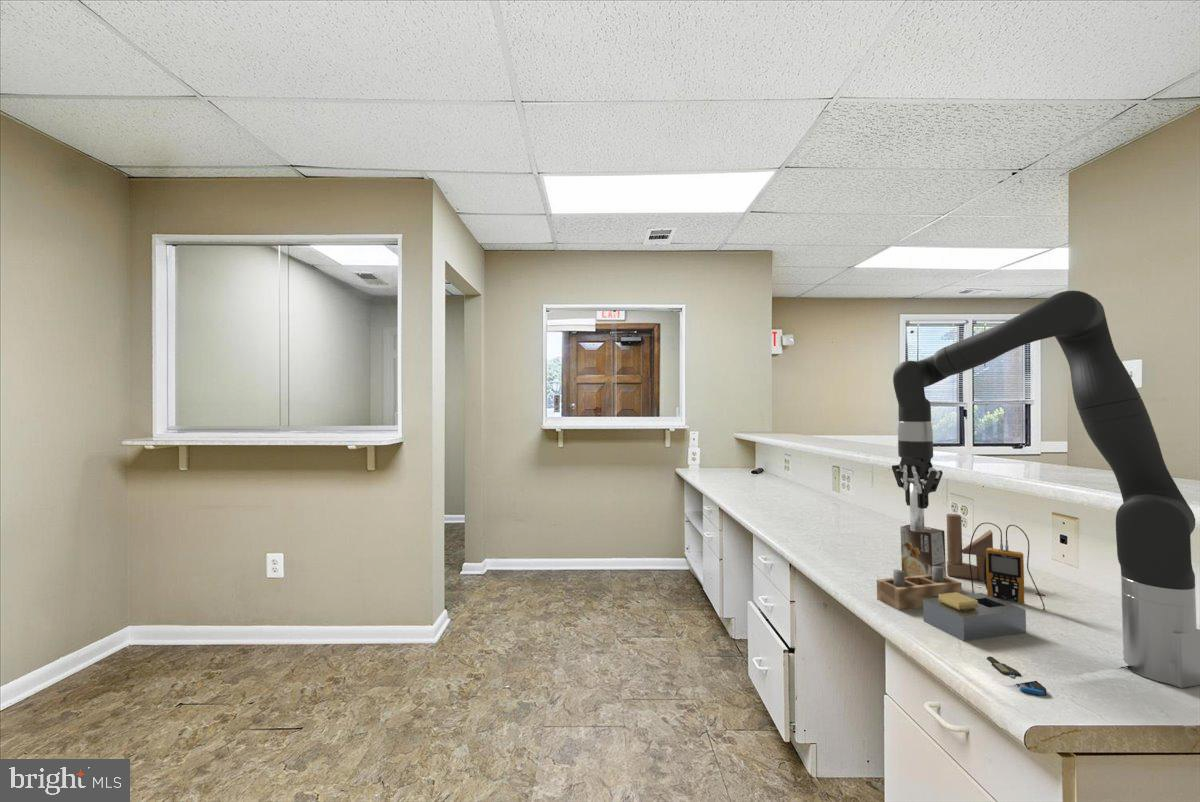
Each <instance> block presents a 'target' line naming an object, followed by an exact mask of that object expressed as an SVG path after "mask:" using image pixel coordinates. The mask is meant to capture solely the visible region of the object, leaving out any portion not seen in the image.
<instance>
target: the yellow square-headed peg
mask: <svg viewBox="0 0 1200 802" xmlns="http://www.w3.org/2000/svg"><path fill="white" fill-rule="evenodd" d="M965 595H966V594H963V593H962V594H960V593H958V592H955V593H946V594H939V601H940V602H942V603H943V605H946V606H948V607H950V608H953V609H955V610H957V611H966V610H974V608H978V600H975V599H973V598H970V597H968V596H965Z"/></svg>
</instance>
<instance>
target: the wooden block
mask: <svg viewBox="0 0 1200 802" xmlns="http://www.w3.org/2000/svg"><path fill="white" fill-rule="evenodd" d="M962 524H963V523H962V515H961V514H957V513H947V514H946V541H947V542H946V545H947V550H946V551H947V553H946V554H947V561H946V575H947V577H948V576H949V577H954V578H963V579H970V580H971V573H970V564H969V563H967V562H964V561H963V555H969V549H970V544H968V545H967V546H965V547H963V535H962V534H963V531H962V530H963V527H962ZM993 533H994V532H992V530H991V529H989V530H988V531H986V532H985V533H984V534H982V535H980V536H979V537H977V538H976V539H975V540H974V541H972V544H971V551H970V556H971V555H972V556H975V560H976V561H975V563H976V564H972V563H971V571H972V580H979V581H982V580H983V582H985V581H984V559H985V555H986V550H987V548H994V542H993V541H994V540H993V538H994V537H993V536H994V535H993ZM986 575H987V570H986Z"/></svg>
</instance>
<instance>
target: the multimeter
mask: <svg viewBox="0 0 1200 802" xmlns="http://www.w3.org/2000/svg"><path fill="white" fill-rule="evenodd" d="M984 524H986V525H987V524H989V525H993V526H995V527H996V528H998V530H999V531H1000V532H999V533H1000V545H999V548H994V547H993V548H987V550H986V555H985V559H984V581H983V582H984V585H985V587H986V588H985V589H986V590H987V591H986V592H987V594H986V595H989V596H991V597H994V598H996V599H999V600H1003V601H1004V600H1005V601H1010V602H1015V603H1019V604H1025V571H1024V570H1025V568H1024V564H1025V563H1024V560H1025V559H1024V552H1023V553H1022V552H1021V551H1015V550H1014V551H1012V550H1009V544H1008V543H1009V542H1008V529H1009V528H1010V527H1011V526H1012V527H1016V528H1017V529H1019V531H1021V532H1022V533H1023V535H1024V536H1025V537H1026V538H1025V539H1027V544H1028V545H1027V557H1026V558H1027V559H1026V561H1027V562H1026V567H1027V572H1028V575H1029V576H1030V579H1031V581H1032V583H1033V585H1034V587H1035V590H1036V592H1037V593H1038V596H1039V598H1040V601H1041V603H1042V607H1043V609H1042V611H1043V610H1044V611H1045V610H1046V608H1045V603H1044V601H1043V599H1042V598H1043V597H1042V595H1041V594H1040V591H1039V589H1038V587H1037V585H1036V583H1035V581H1034V579H1033V577H1032V574H1031V572H1030V569H1029V559H1030V540H1029V537H1028V535H1027V534H1026V533H1025V531H1024V530H1023V529H1022V528H1020V526H1018V525H1015V524H1010V525H1007V527H1006V528H1005V529H1006V530H1005V544H1003V534H1002V533H1003V532H1002V529H1001V528H1000V527H999V526H998V525H997V524H994V523H991V522H982V523H980V524H978V525H977V526H976V528H974V531H973V533H972V536H971V540H970V549H969V554H968V561H969V564H970V573H971V579H970V581H971V590H972V593H971V594H975V591H974V590H975V589H974V581H973V580H974V579H972V571H971V564H972V563H971V554H970V551H971V544H972V542H973V538H974V537H975V533H976V532H977V530H978V528H980V526H982V525H984ZM1004 546H1005V547H1004ZM1004 548H1005V549H1004ZM986 570H987V575H986Z"/></svg>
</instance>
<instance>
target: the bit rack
mask: <svg viewBox="0 0 1200 802" xmlns="http://www.w3.org/2000/svg"><path fill="white" fill-rule="evenodd" d="M892 571H893V572H892V573H893V577H891V578H890V577H889V578H880V579H876V600H877V601H879V602H882V603H883V604H885V605H887V606H889V607H891V608H894V609H895V610H898V611H904V610H914V609H922V608H923V599H931V598H939V594H946V593H955V592H958V593H960V594H963V593H962V591H963V587H962V582H961V581H958V580H956V579H953V578H951V577H948V576H946V577H945V576H943V568H942V567H939V566H932V574H928V575H918V576H908V577H905V575H904V571H902V569H893V570H892Z"/></svg>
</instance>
